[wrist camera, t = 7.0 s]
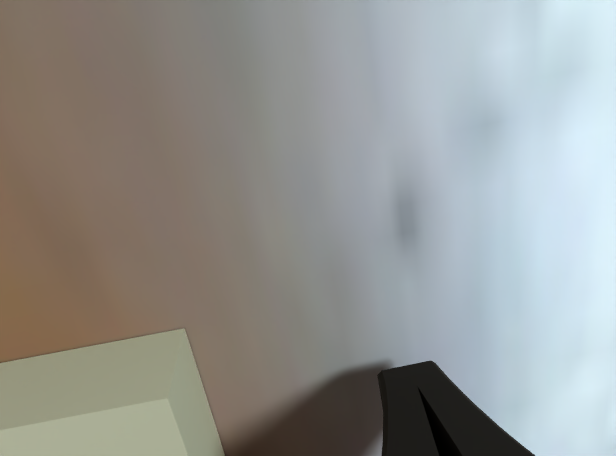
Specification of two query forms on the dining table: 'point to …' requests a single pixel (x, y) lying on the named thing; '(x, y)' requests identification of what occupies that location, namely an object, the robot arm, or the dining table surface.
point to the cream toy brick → (108, 401)
